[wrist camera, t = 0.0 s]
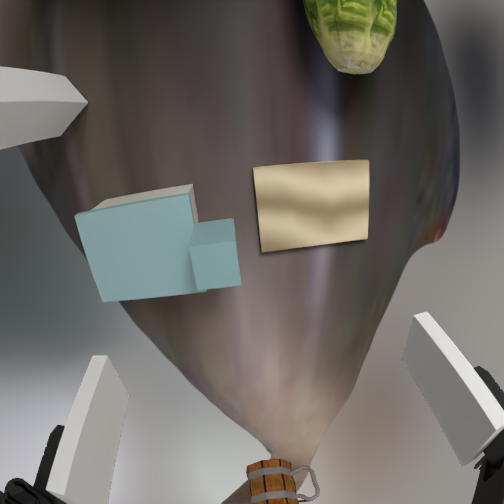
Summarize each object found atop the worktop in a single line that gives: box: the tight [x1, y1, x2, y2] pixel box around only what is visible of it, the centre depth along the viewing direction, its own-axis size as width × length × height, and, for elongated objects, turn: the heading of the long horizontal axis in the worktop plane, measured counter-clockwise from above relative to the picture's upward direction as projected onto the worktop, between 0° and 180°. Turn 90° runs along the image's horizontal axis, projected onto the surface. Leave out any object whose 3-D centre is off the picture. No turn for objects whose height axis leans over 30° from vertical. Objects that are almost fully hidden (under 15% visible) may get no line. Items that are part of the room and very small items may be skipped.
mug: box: [246, 459, 320, 504], centre depth 62 cm, size 20×14×15 cm
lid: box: [75, 193, 241, 302], centre depth 29 cm, size 11×17×6 cm, turn 96°
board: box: [253, 160, 369, 252], centre depth 38 cm, size 11×15×1 cm
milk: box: [0, 66, 88, 149], centre depth 19 cm, size 6×6×22 cm
